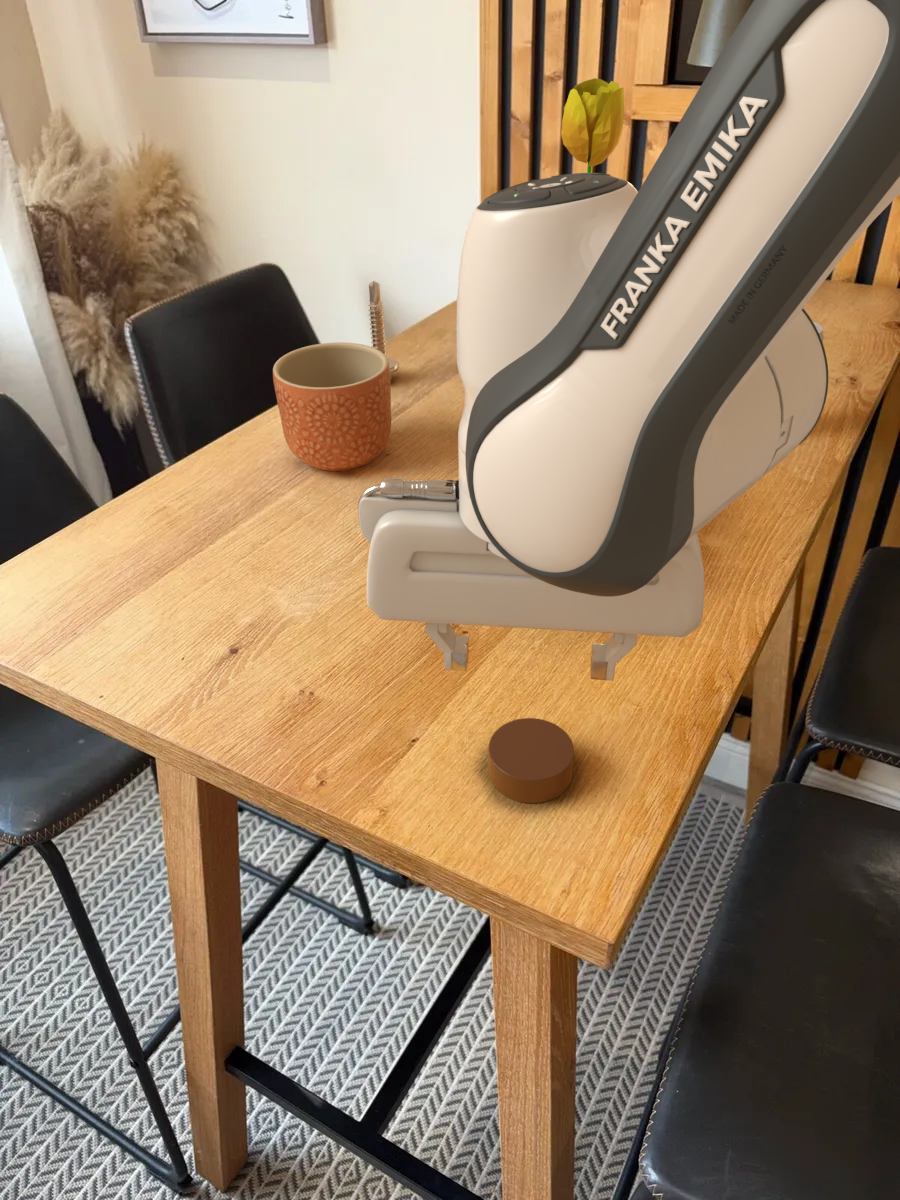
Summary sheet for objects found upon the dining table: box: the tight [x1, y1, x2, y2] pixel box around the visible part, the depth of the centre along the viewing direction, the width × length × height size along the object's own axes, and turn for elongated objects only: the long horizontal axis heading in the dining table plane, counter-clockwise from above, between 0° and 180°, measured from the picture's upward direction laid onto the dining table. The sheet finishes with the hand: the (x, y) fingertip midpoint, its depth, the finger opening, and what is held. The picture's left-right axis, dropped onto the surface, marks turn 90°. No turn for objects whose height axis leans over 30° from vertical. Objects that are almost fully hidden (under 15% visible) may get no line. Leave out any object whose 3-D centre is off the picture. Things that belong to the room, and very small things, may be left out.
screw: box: [367, 280, 400, 382], centre depth 116 cm, size 13×5×5 cm
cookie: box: [488, 717, 575, 804], centre depth 66 cm, size 6×6×2 cm
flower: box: [560, 77, 625, 173], centre depth 130 cm, size 9×8×30 cm
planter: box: [272, 341, 392, 472], centre depth 101 cm, size 12×12×11 cm
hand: (528, 669), depth 60 cm, fingers open, 8 cm apart
